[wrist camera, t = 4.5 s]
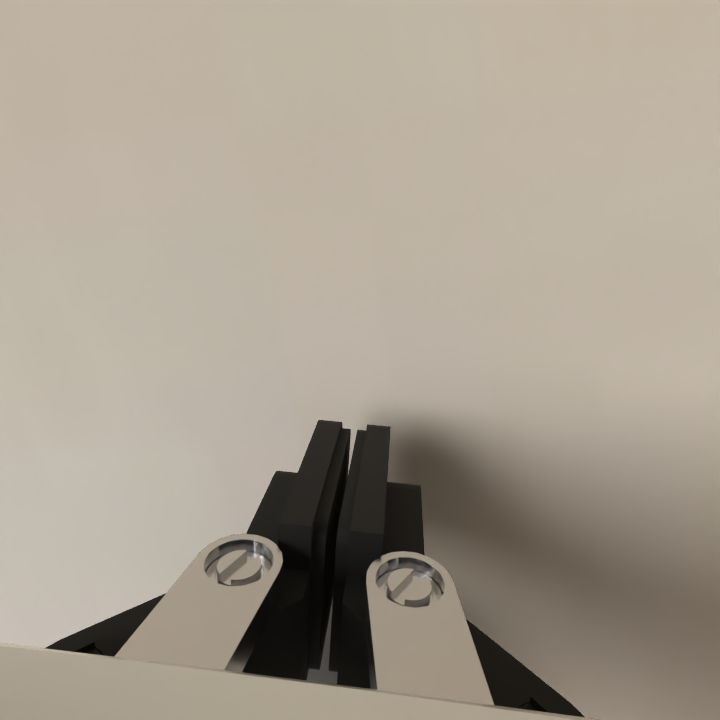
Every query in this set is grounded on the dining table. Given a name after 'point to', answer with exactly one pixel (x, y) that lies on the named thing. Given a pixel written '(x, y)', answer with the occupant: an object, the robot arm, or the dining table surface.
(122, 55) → the dining table surface
